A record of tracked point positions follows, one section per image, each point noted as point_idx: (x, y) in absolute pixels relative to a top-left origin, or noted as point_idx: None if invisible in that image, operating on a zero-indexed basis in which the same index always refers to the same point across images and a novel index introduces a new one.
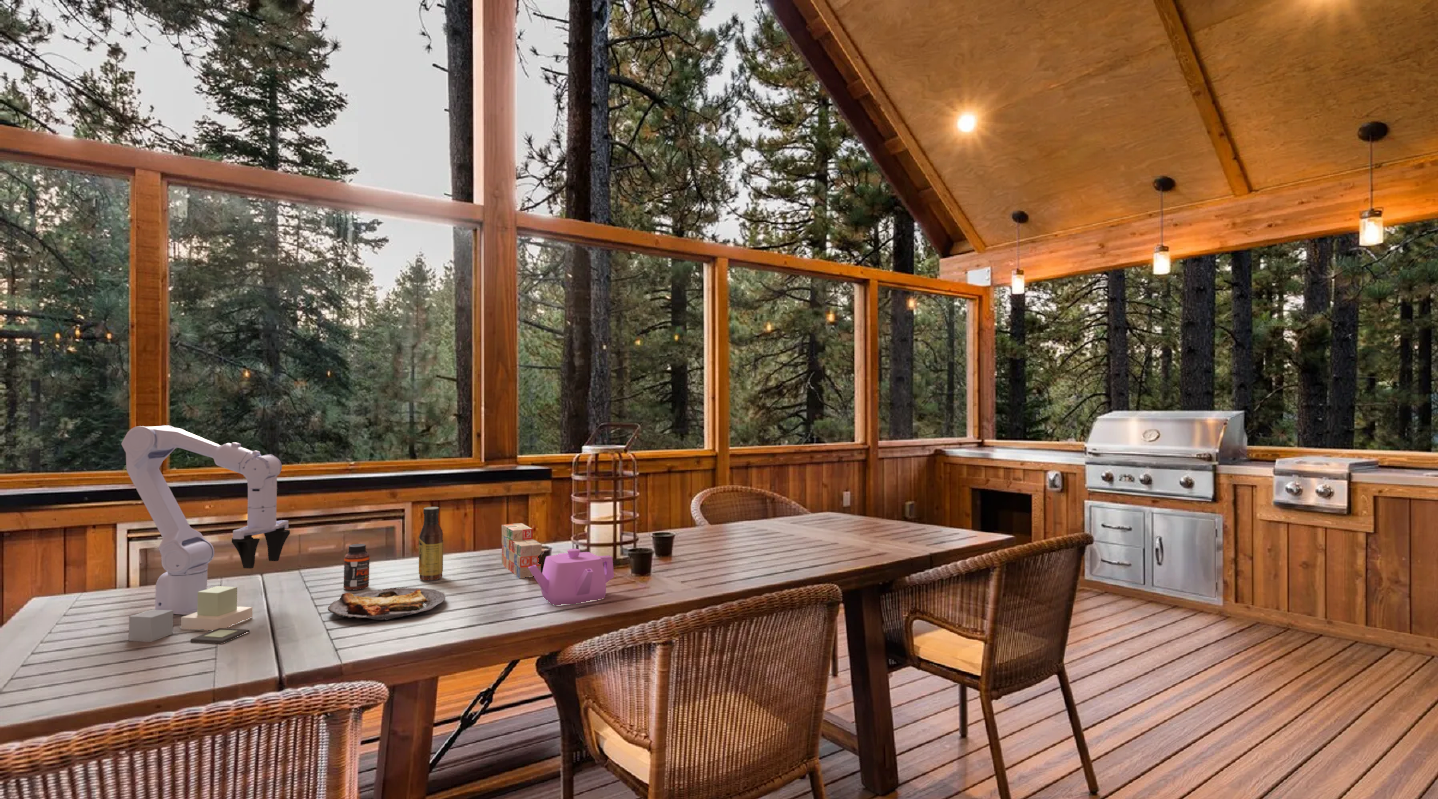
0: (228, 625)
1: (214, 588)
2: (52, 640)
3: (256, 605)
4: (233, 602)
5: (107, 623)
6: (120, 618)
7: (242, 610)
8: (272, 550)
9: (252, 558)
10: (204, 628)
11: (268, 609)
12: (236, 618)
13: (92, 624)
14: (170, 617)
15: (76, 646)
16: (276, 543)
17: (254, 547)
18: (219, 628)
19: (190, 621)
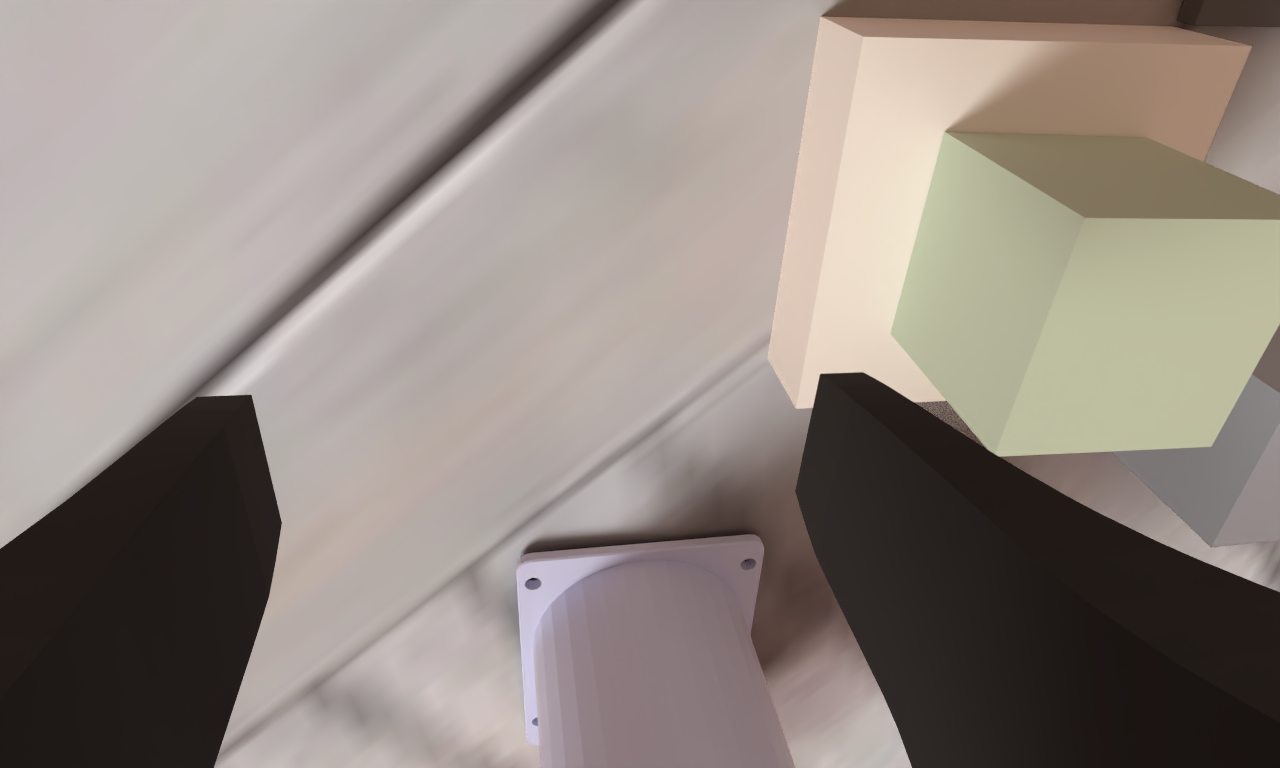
0: (1091, 27)
1: (1101, 407)
2: None
3: (427, 302)
4: (1029, 161)
5: (894, 730)
6: (812, 750)
7: (975, 52)
8: (204, 637)
9: (978, 451)
10: None
11: (520, 89)
12: (1029, 32)
13: (905, 762)
14: (1271, 372)
15: (1258, 564)
16: (97, 732)
17: (1170, 599)
18: (1209, 13)
19: None
